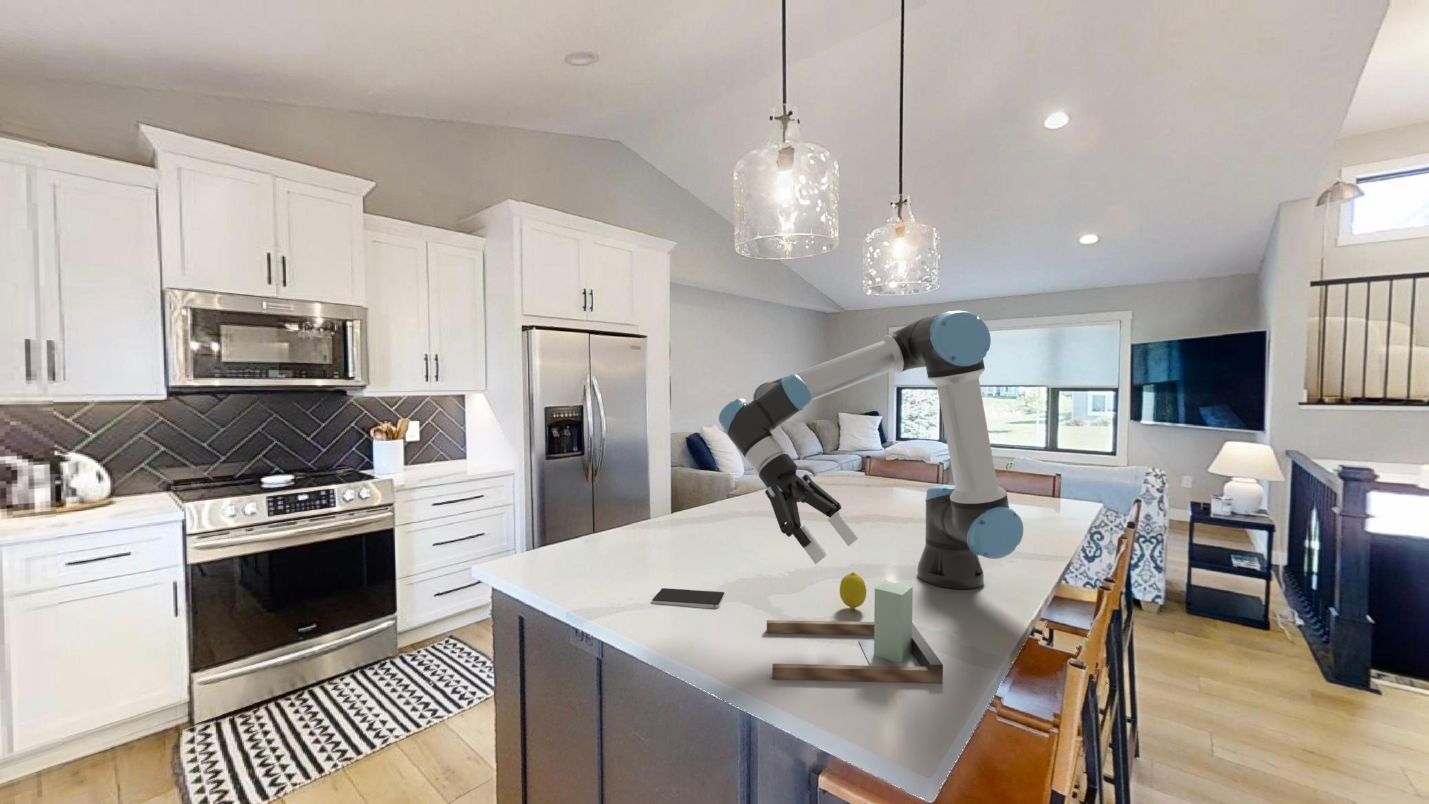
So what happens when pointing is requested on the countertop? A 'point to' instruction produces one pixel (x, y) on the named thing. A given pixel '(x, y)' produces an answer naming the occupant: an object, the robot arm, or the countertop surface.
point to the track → (913, 669)
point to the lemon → (853, 590)
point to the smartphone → (689, 598)
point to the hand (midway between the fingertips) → (838, 550)
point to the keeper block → (893, 621)
